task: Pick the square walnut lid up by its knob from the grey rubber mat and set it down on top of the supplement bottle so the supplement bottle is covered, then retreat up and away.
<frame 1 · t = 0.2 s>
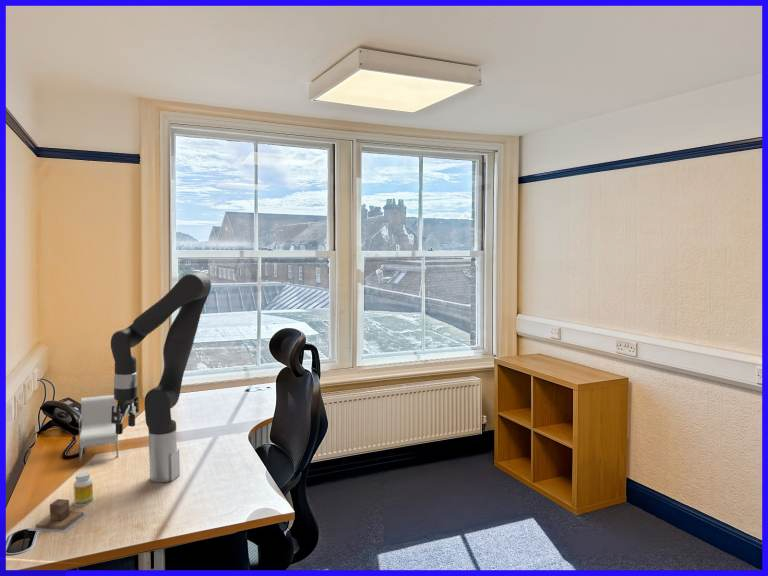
hand: (125, 429, 207), 17 cm above the table, tool pointing down, fingers open, 8 cm apart
supplement bottle: (83, 503, 188), on the table
chair: (100, 451, 235), on the table
lid: (60, 521, 175), resting on mat
mat: (60, 522, 175), on the table
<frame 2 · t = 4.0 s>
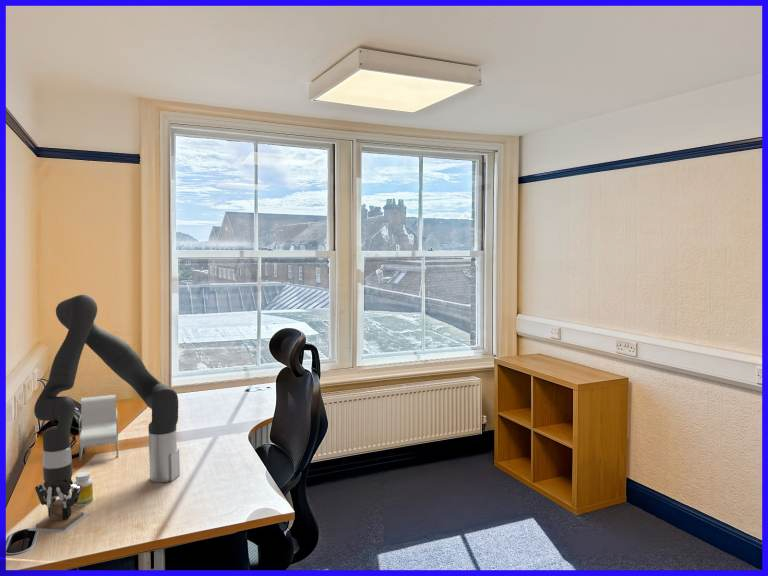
hand: (59, 517, 175), 1 cm above the table, tool pointing down, fingers closed on lid, 3 cm apart
lid: (60, 521, 175), resting on mat, touching gripper
everything else where it was.
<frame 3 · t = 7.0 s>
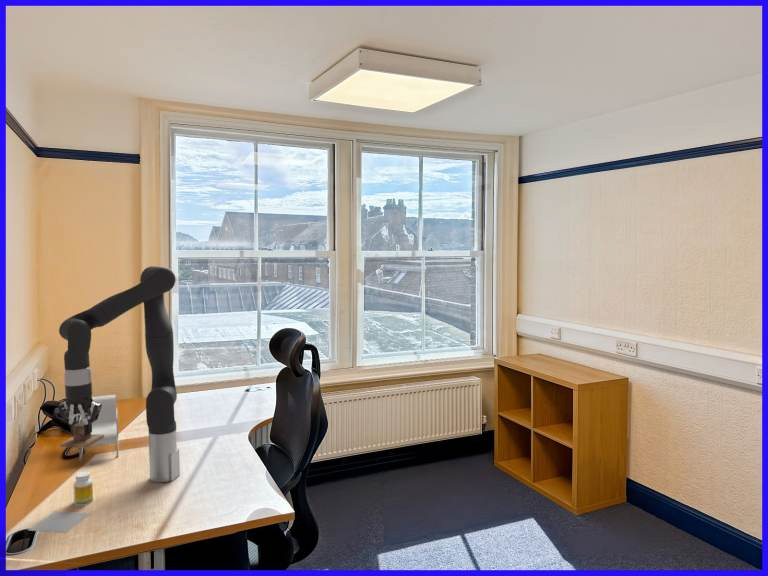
hand: (81, 434, 186), 23 cm above the table, tool pointing down, fingers closed on lid, 3 cm apart
lid: (82, 442, 186), point 20 cm above the table, touching gripper
everything else where it was.
when the fingers open (13 cm above the table, at t = 9.8 s): lid stays where it is, resting on supplement bottle.
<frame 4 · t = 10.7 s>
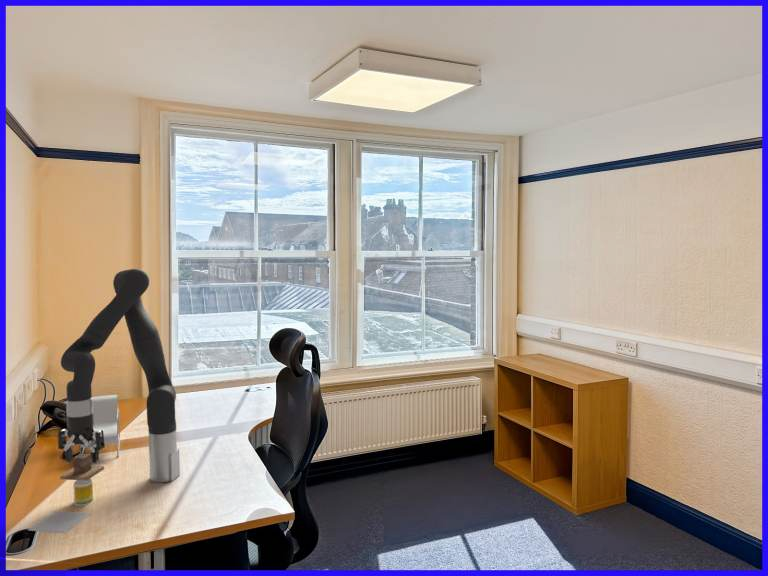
hand: (82, 462, 187), 14 cm above the table, tool pointing down, fingers open, 8 cm apart
supplement bottle: (83, 503, 188), on the table, touching lid
lid: (82, 474, 188), point 10 cm above the table, touching supplement bottle
everything else where it was.
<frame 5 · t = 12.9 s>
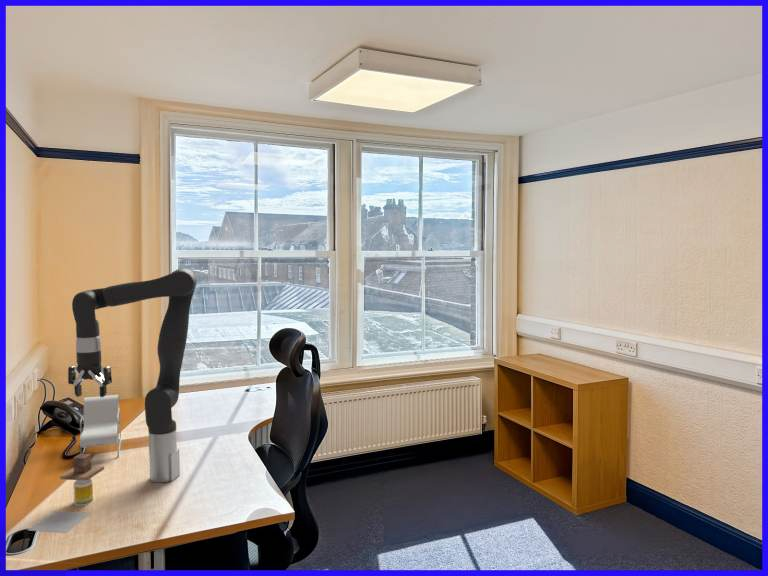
hand: (90, 396, 200), 31 cm above the table, tool pointing down, fingers open, 8 cm apart
nothing on the table moved.
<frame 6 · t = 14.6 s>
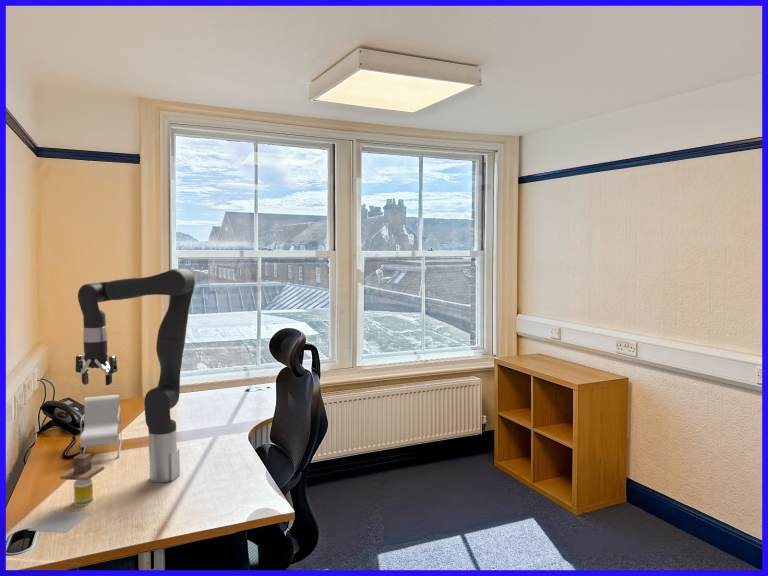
hand: (97, 384, 208), 33 cm above the table, tool pointing down, fingers open, 8 cm apart
nothing on the table moved.
at the end: lid 0.1 cm from the supplement bottle (horizontally); lid point 9.6 cm above the table; lid tilted 0° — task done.
